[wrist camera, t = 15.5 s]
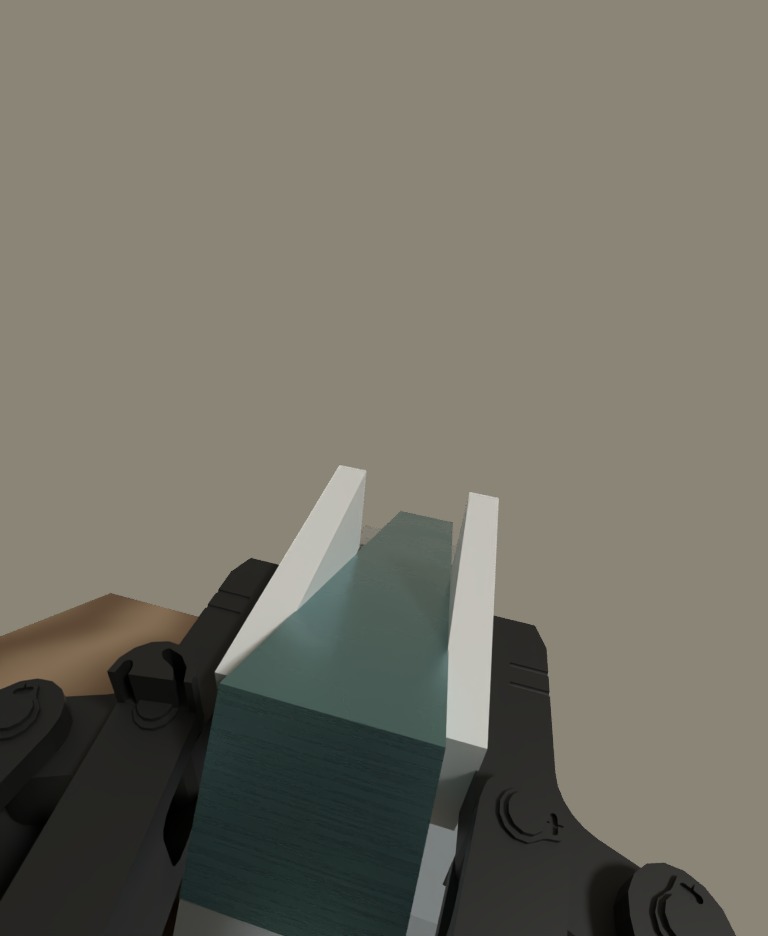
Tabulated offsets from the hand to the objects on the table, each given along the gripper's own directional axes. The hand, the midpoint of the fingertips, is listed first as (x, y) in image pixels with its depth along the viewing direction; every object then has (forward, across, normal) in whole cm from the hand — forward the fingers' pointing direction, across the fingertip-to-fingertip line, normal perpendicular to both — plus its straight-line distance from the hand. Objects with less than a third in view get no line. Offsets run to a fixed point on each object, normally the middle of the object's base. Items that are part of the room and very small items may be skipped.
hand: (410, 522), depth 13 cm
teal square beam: (+2, 0, -6) cm, 7 cm away
